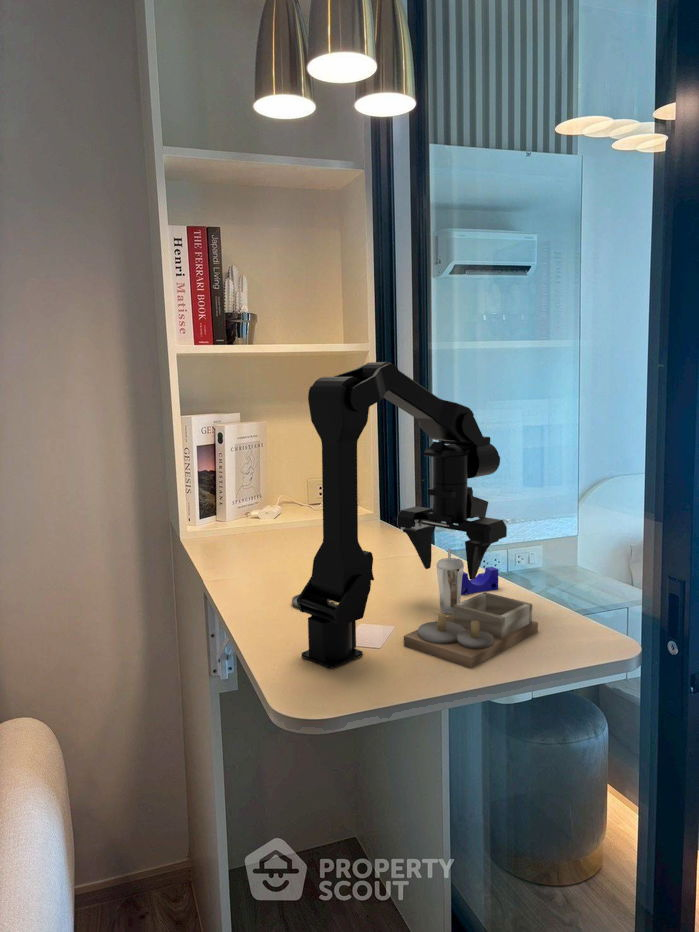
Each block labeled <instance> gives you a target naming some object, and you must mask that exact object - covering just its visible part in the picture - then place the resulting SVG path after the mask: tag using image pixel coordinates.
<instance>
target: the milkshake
mask: <svg viewBox="0 0 699 932" xmlns="http://www.w3.org/2000/svg"><path fill="white" fill-rule="evenodd" d="M451 550H452V549H451V548H447V557H444V558H441V559H439V560H438V561H437V562H436V573H437V582H438V593H439V595H438V596H439V606H440V612H441V613H442V614H443V613H444V614H445V615H446V614H447V615H448V614H449V615H452V614H453V605H456V604H458V603H460V602H461V597H462V595H461V587H462V578H463V572H464V570H465V569H464V567H465V565H464V561H463V560H462V559H461V558H456V557H452V551H451Z"/></svg>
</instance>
